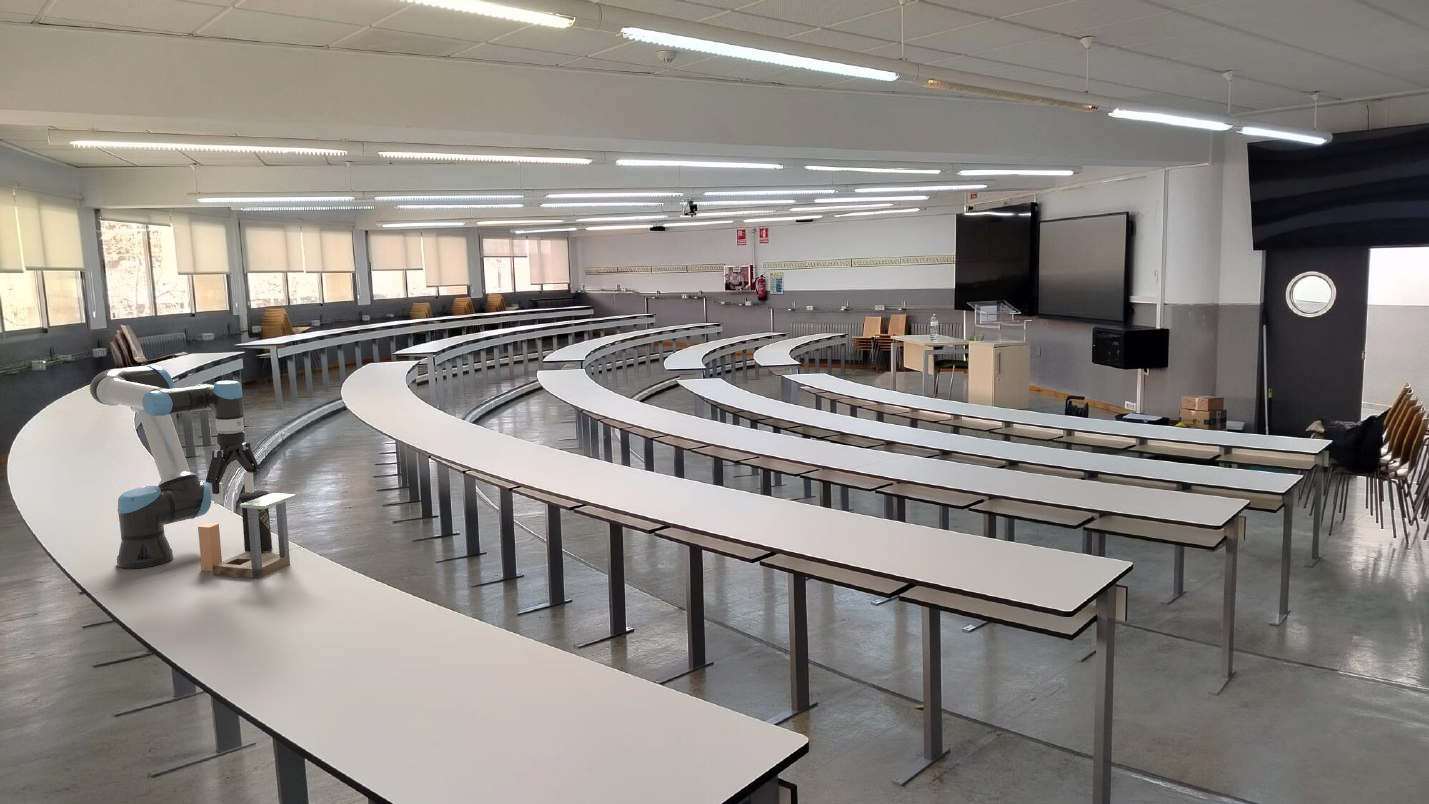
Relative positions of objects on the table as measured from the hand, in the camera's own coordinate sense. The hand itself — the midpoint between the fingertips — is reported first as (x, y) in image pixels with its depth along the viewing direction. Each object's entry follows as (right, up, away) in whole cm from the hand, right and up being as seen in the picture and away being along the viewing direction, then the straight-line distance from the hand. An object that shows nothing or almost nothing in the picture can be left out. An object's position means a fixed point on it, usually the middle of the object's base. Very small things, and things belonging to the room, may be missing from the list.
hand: (234, 497), depth 277 cm
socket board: (+6, -22, -1) cm, 23 cm away
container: (-2, -20, +18) cm, 27 cm away
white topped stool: (+14, -23, -2) cm, 26 cm away
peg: (-7, -22, 0) cm, 23 cm away
